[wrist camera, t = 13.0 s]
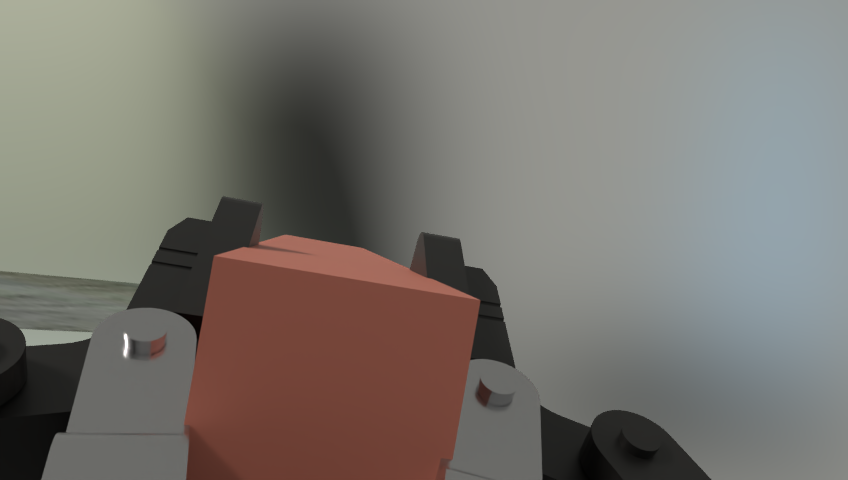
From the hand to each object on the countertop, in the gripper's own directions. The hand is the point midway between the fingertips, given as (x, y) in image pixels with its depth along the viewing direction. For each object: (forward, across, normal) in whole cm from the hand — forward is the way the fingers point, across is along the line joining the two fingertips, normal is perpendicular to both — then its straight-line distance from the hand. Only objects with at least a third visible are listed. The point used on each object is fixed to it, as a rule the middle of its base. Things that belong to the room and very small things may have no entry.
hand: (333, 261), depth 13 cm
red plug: (+2, 0, +5) cm, 5 cm away
